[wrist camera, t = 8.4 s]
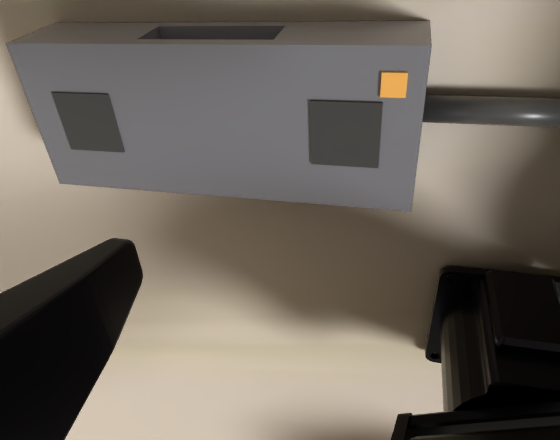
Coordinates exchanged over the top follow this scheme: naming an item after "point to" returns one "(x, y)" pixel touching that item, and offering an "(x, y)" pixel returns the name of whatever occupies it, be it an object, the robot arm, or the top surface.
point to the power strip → (247, 107)
